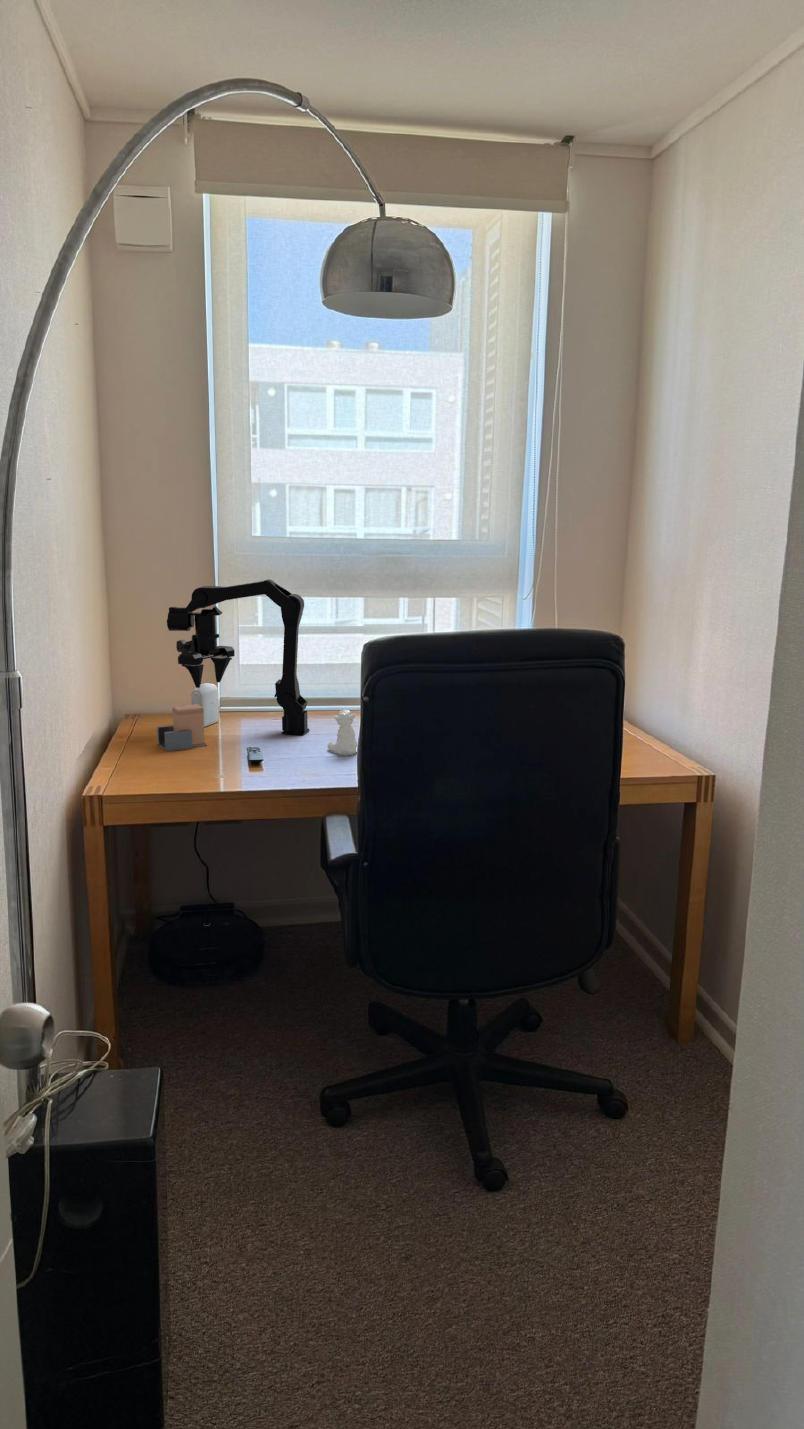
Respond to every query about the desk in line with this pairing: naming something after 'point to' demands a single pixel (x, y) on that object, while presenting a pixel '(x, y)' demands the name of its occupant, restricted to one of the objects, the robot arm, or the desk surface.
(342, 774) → the desk surface
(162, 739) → the chute
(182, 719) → the block
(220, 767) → the desk surface
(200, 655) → the robot arm
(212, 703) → the photo printer
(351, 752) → the white creature statuette
